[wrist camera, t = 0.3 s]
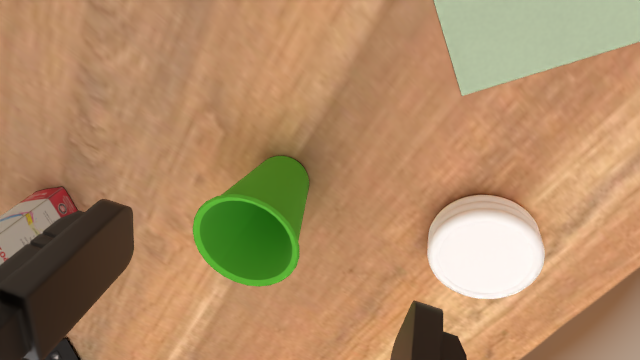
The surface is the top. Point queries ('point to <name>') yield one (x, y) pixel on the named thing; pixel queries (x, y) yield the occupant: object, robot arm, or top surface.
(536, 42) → the runner mat
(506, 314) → the top surface
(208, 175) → the top surface
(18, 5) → the top surface
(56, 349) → the office phone
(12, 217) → the ink box
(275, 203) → the cup
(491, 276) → the white round stack
